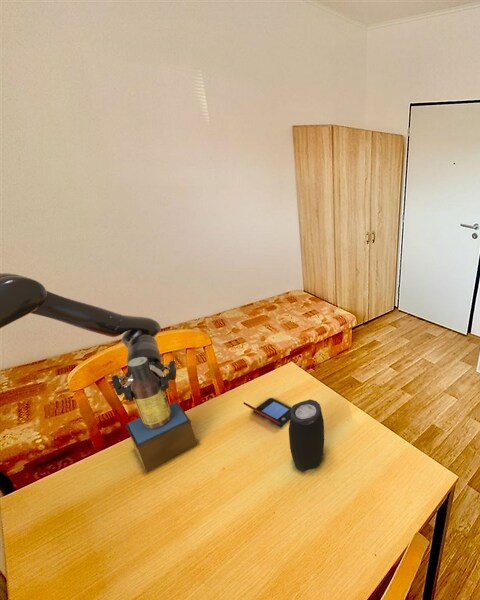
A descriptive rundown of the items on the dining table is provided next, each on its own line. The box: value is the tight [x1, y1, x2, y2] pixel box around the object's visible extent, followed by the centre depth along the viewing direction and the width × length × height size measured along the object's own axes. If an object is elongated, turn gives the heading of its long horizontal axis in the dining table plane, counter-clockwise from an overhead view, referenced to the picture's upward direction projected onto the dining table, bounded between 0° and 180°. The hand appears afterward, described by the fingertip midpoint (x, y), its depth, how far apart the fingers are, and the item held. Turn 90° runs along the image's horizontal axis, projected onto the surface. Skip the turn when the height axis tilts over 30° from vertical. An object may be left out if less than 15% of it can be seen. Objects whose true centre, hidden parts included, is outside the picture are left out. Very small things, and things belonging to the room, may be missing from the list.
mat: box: [127, 402, 188, 445], centre depth 87 cm, size 11×9×1 cm
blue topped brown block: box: [125, 402, 197, 473], centre depth 89 cm, size 12×10×10 cm
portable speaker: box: [288, 398, 325, 473], centre depth 87 cm, size 9×9×20 cm
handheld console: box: [242, 397, 292, 428], centre depth 103 cm, size 12×11×7 cm
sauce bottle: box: [126, 357, 171, 429], centre depth 82 cm, size 7×6×20 cm
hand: (147, 393), depth 80 cm, fingers closed on sauce bottle, 6 cm apart
